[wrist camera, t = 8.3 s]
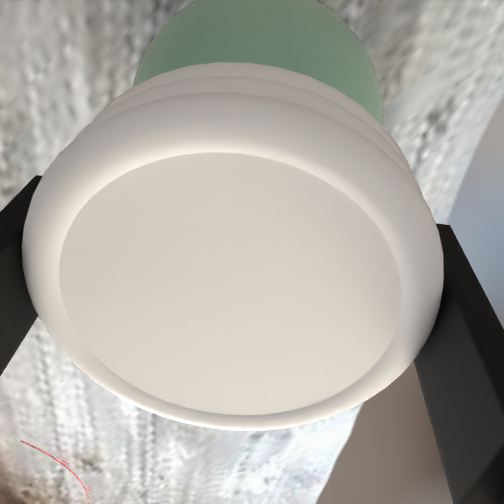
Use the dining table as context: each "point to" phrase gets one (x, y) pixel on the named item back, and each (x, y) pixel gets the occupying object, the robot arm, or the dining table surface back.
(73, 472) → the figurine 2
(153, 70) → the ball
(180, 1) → the dining table surface
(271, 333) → the white thick disc
